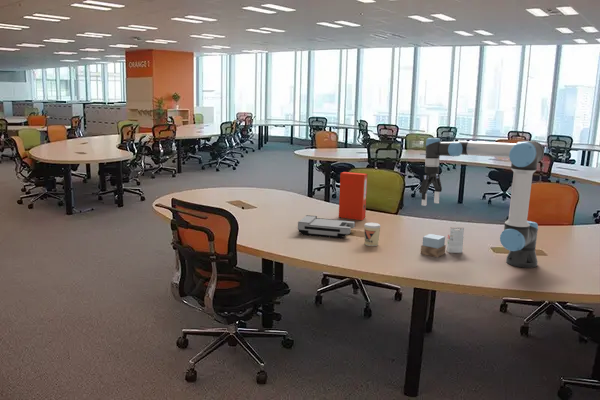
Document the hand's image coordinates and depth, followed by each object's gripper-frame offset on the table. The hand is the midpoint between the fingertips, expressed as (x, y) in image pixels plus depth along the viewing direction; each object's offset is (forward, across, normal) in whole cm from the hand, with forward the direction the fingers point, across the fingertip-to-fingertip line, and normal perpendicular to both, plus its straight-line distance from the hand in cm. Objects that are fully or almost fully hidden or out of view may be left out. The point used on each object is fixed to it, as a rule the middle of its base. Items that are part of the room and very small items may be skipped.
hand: (430, 204), depth 288 cm
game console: (+24, +13, -64) cm, 70 cm away
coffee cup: (+26, +13, -30) cm, 42 cm away
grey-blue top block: (+22, +2, +4) cm, 23 cm away
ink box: (+27, -10, +11) cm, 31 cm away
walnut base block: (+27, +2, +4) cm, 28 cm away
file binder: (+22, -33, -80) cm, 89 cm away
